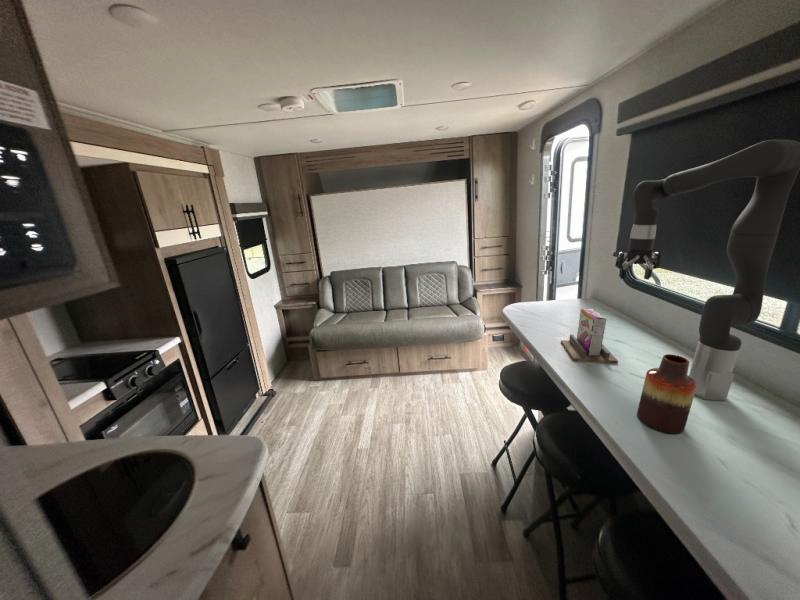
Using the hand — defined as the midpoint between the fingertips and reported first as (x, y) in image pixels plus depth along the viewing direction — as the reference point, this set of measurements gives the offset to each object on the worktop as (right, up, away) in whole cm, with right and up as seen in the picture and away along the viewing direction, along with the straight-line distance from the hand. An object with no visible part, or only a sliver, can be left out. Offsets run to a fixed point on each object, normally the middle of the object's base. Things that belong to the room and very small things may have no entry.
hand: (634, 279), depth 124 cm
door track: (-13, -30, +9) cm, 34 cm away
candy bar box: (-13, -29, +8) cm, 33 cm away
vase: (-16, -44, -32) cm, 57 cm away
